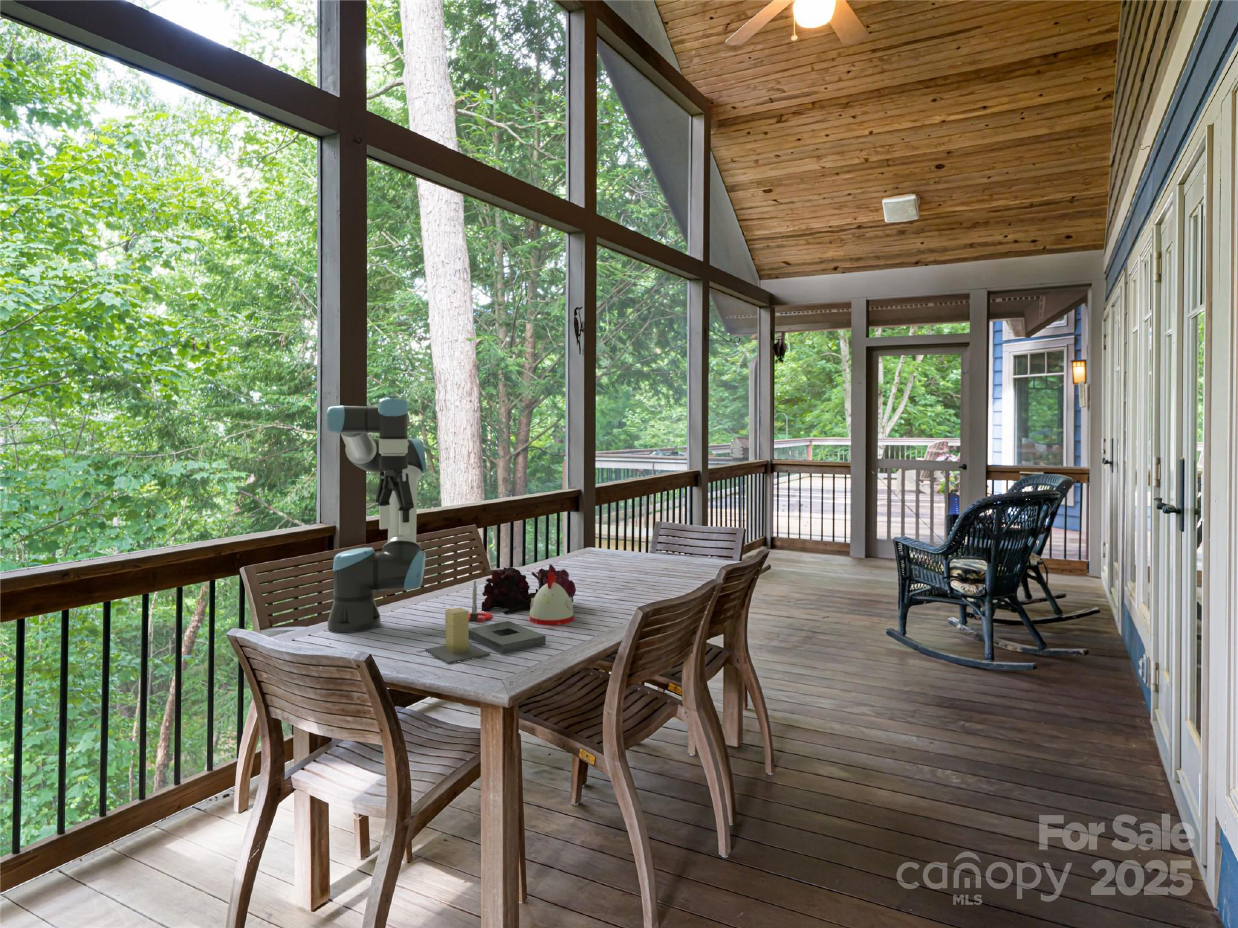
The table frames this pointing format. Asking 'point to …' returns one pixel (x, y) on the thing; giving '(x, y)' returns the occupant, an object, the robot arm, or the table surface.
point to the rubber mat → (450, 658)
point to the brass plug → (457, 630)
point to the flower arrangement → (519, 588)
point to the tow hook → (474, 614)
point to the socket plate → (506, 637)
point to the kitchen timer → (551, 604)
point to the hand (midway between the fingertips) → (394, 531)
